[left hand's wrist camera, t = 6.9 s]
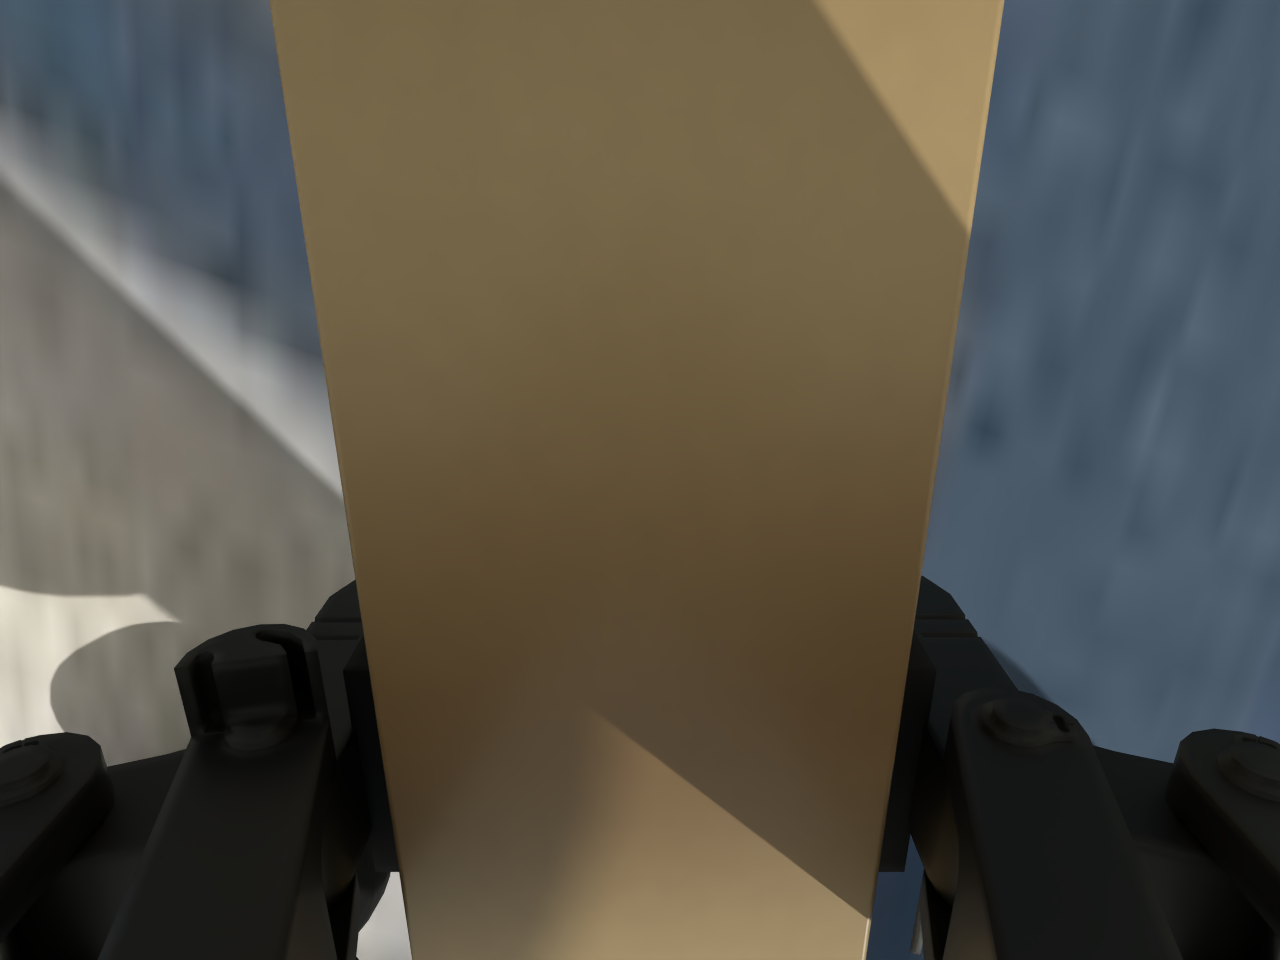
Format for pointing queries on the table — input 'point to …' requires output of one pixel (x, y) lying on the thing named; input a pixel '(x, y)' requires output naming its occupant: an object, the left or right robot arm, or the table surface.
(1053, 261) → the table surface
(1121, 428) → the table surface
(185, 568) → the table surface
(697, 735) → the oak plank
